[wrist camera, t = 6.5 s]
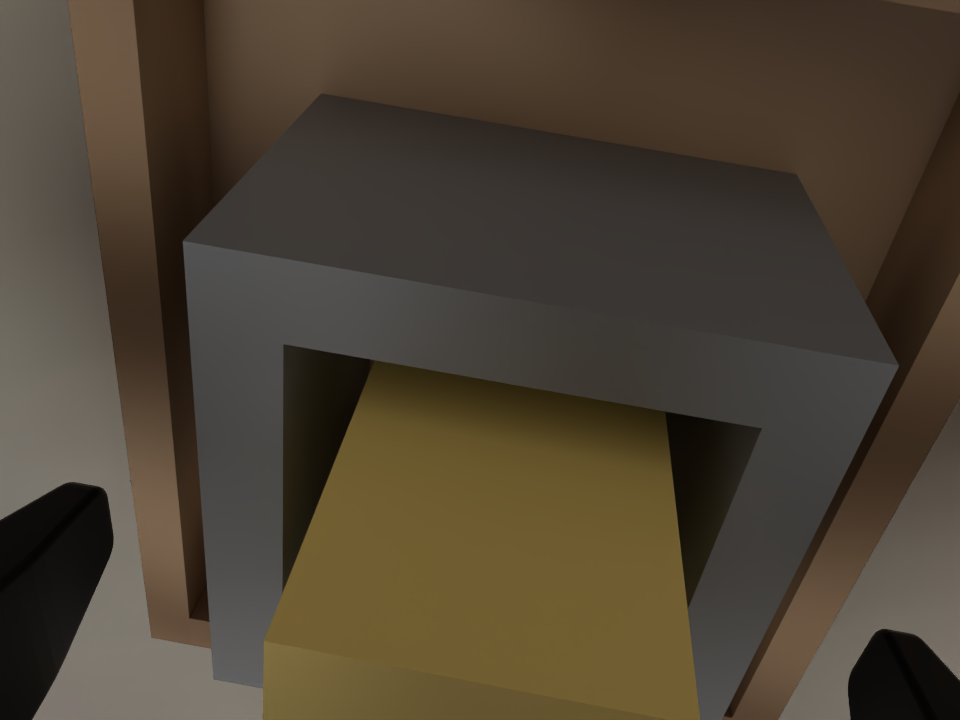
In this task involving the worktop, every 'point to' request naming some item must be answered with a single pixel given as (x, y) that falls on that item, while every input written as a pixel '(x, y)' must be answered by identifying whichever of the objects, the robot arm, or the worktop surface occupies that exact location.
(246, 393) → the socket
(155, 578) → the walled box
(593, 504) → the mustard yellow cuboid
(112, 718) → the worktop surface
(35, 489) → the worktop surface
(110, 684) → the worktop surface
